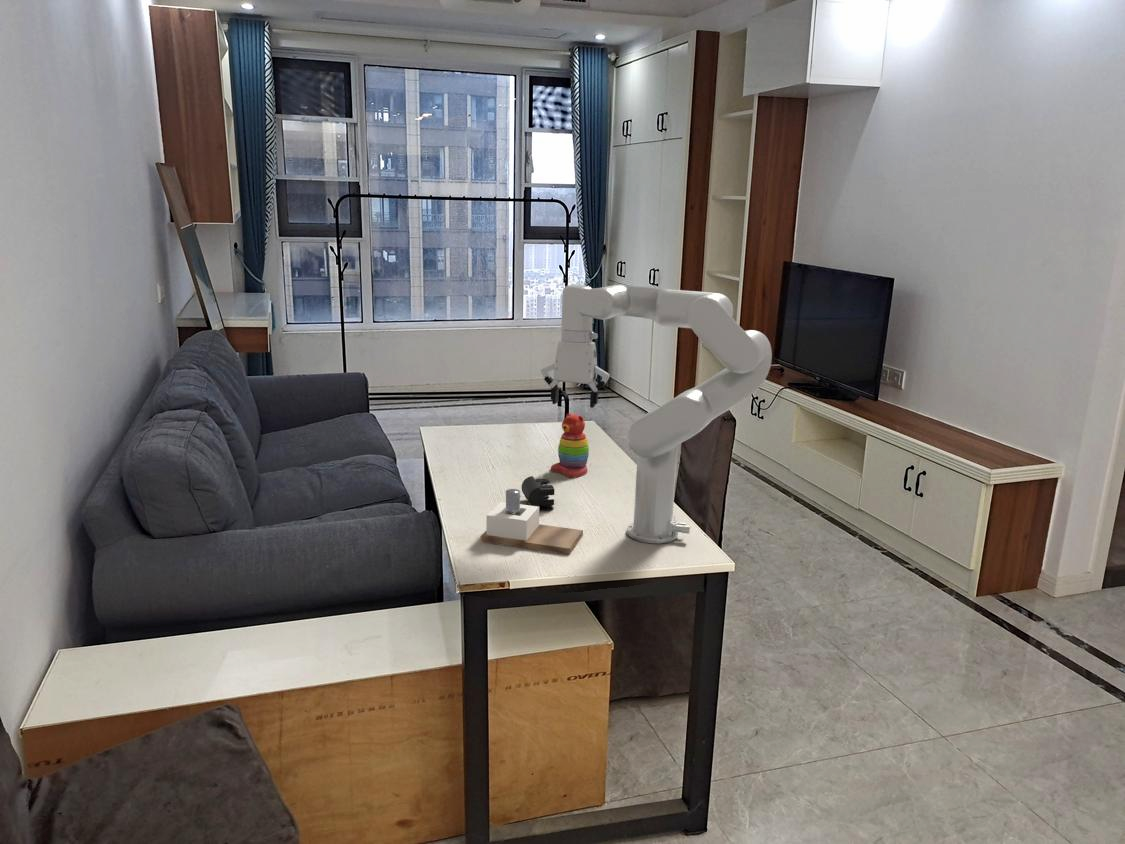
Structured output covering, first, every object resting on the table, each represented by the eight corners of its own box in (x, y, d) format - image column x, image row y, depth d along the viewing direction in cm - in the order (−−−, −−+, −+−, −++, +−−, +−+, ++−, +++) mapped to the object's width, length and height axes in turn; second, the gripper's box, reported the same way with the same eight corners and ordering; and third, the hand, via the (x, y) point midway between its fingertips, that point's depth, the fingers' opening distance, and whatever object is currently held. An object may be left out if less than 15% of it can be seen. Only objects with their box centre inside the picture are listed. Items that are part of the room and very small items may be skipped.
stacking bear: (547, 469, 254) (549, 413, 250) (572, 464, 261) (574, 409, 256) (571, 479, 246) (573, 420, 242) (596, 472, 253) (598, 416, 249)
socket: (538, 525, 205) (539, 506, 204) (526, 540, 196) (526, 520, 195) (500, 520, 208) (500, 501, 206) (486, 535, 198) (486, 515, 197)
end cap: (520, 499, 228) (521, 476, 226) (546, 498, 229) (546, 475, 228) (527, 512, 218) (528, 488, 217) (554, 511, 220) (555, 487, 218)
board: (582, 535, 204) (582, 530, 203) (569, 554, 192) (570, 548, 192) (498, 524, 209) (498, 518, 209) (480, 541, 198) (480, 535, 198)
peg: (521, 528, 203) (521, 489, 200) (517, 533, 200) (517, 494, 197) (508, 526, 204) (508, 488, 201) (504, 531, 201) (503, 493, 198)
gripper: (614, 337, 204) (611, 404, 208) (546, 332, 208) (545, 398, 213) (607, 341, 197) (604, 411, 201) (538, 336, 201) (536, 404, 206)
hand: (573, 404), depth 207 cm, fingers open, 9 cm apart
